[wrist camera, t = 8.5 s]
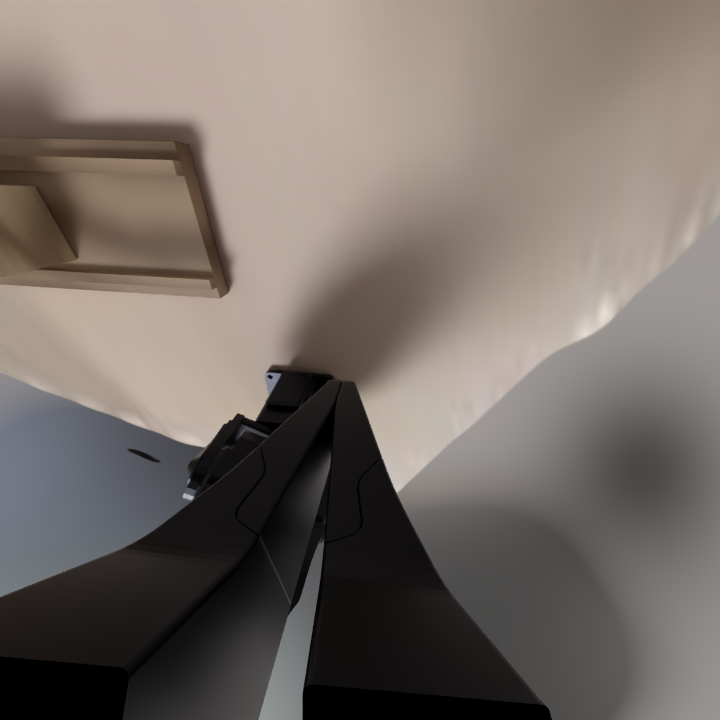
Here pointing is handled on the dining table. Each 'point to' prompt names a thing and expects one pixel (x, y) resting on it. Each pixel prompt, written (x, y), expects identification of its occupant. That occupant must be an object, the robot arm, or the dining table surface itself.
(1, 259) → the beige slanted block
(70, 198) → the channel
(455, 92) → the dining table surface
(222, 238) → the dining table surface
